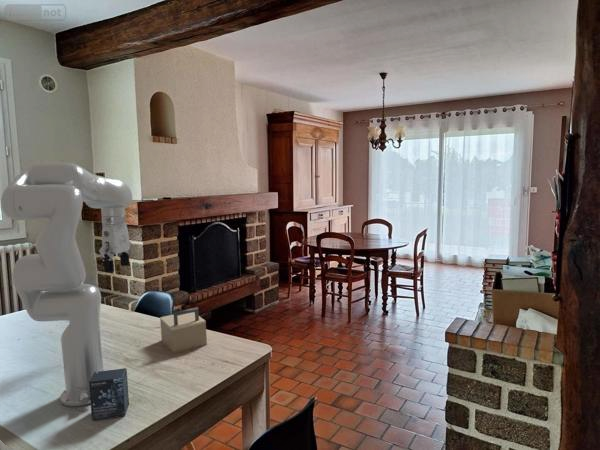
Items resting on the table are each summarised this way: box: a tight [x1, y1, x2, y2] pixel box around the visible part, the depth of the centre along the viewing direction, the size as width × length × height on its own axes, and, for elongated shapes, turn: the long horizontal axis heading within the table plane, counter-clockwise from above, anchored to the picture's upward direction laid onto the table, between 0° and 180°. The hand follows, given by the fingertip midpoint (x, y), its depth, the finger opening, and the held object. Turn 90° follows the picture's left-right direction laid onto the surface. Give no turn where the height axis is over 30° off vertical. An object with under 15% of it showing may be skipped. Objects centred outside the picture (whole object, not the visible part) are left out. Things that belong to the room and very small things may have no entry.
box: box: [89, 367, 130, 421], centre depth 103 cm, size 8×6×11 cm
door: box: [159, 306, 207, 331], centre depth 145 cm, size 14×12×6 cm
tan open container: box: [159, 319, 208, 355], centre depth 146 cm, size 14×12×8 cm
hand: (117, 268), depth 143 cm, fingers open, 9 cm apart
